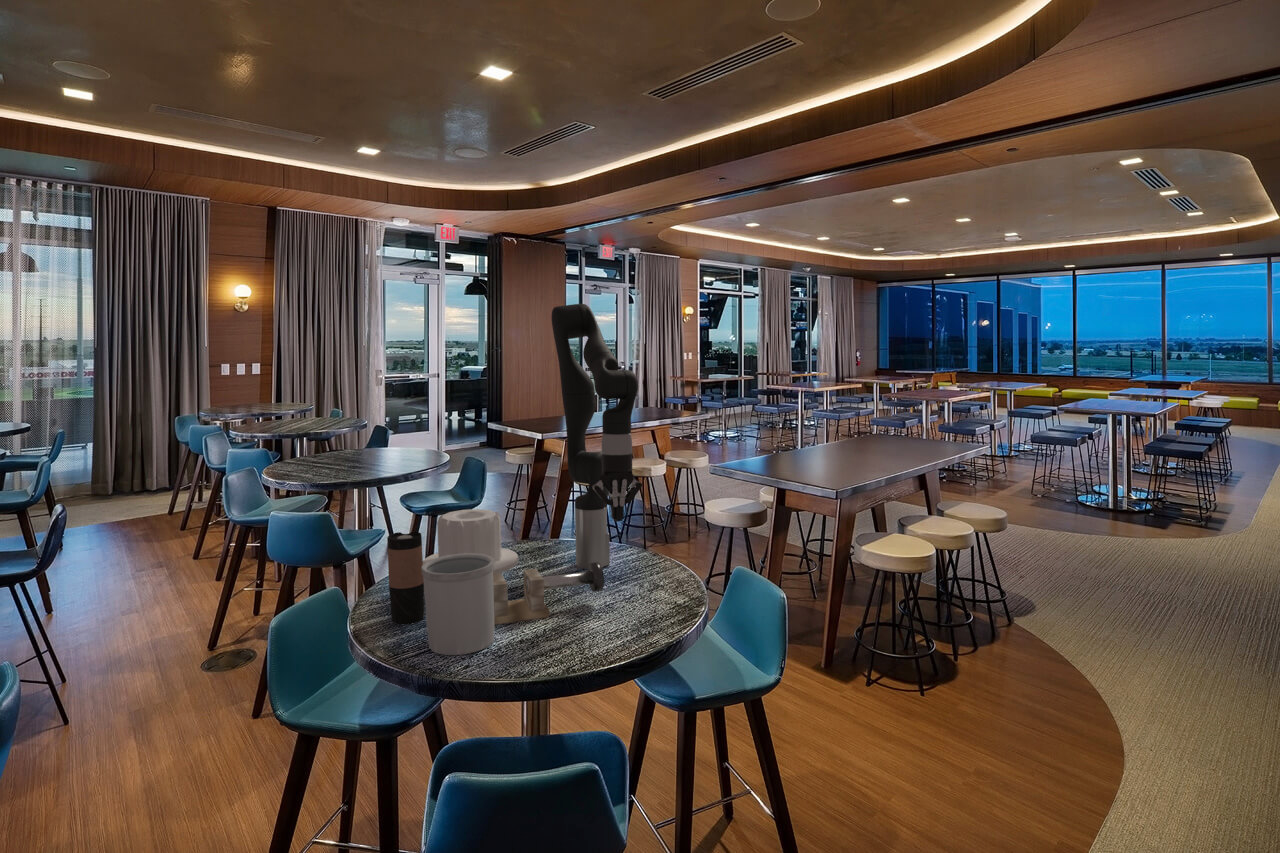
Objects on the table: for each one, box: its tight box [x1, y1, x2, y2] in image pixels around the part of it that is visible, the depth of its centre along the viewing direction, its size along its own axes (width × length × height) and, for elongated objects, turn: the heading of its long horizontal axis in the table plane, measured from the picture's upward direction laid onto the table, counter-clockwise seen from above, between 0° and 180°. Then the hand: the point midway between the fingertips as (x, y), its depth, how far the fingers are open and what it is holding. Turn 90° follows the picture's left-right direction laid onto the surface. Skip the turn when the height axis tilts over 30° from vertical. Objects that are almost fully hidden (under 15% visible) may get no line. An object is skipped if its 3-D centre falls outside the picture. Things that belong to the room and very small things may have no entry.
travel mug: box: [387, 530, 425, 625], centre depth 159 cm, size 8×8×20 cm
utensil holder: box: [421, 553, 495, 656], centre depth 146 cm, size 15×15×18 cm
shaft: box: [526, 562, 605, 593], centre depth 166 cm, size 18×7×7 cm, turn 111°
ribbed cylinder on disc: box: [423, 508, 519, 574], centre depth 183 cm, size 25×25×19 cm
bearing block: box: [493, 568, 550, 626], centre depth 162 cm, size 13×10×9 cm
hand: (617, 520), depth 170 cm, fingers closed
